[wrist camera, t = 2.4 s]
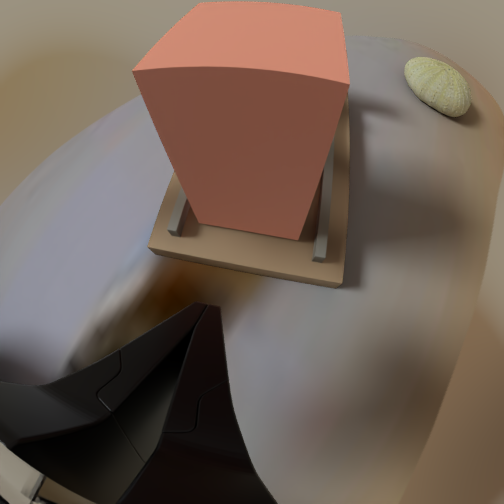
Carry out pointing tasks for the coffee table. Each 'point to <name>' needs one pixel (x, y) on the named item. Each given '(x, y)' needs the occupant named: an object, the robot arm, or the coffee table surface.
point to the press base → (266, 246)
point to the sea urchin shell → (438, 85)
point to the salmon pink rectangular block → (248, 109)
